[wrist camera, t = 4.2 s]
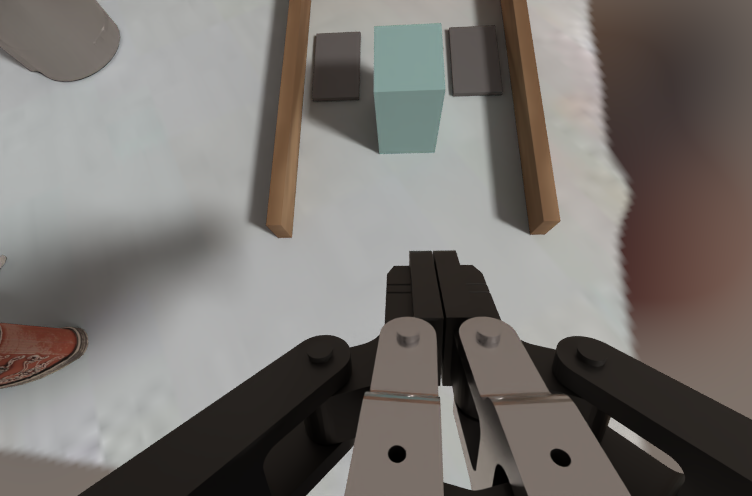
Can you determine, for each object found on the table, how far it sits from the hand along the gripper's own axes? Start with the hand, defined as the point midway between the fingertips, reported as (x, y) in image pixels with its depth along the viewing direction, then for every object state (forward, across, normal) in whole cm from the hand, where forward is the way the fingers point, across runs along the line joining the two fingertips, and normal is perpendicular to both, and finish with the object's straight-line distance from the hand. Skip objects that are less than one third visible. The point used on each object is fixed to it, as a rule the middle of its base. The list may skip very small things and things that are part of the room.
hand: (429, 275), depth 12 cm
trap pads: (+30, 0, -6) cm, 31 cm away
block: (+25, 0, -1) cm, 25 cm away
